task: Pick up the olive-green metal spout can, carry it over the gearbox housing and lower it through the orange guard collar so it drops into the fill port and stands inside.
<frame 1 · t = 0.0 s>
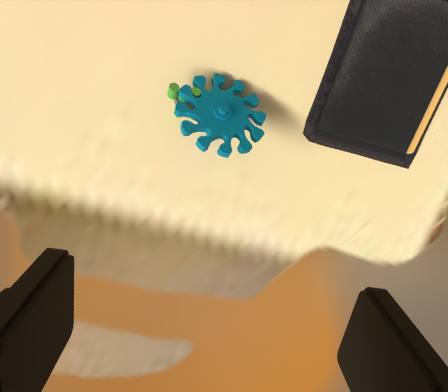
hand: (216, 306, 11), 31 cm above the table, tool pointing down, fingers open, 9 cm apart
dark grey flat slab: (386, 73, 39), on the table
gear: (216, 107, 39), on the table
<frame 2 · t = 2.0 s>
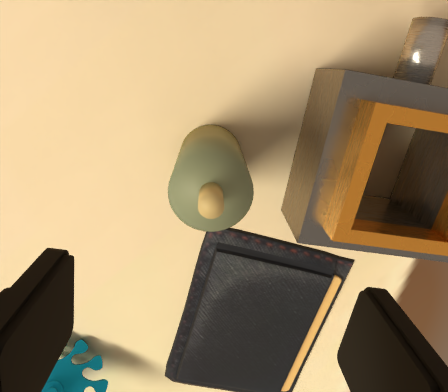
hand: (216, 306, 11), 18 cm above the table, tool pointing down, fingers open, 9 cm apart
gearbox housing: (365, 155, 28), on the table
dark grey flat slab: (251, 317, 35), on the table
gear: (63, 356, 36), on the table
spout can: (210, 155, 28), on the table
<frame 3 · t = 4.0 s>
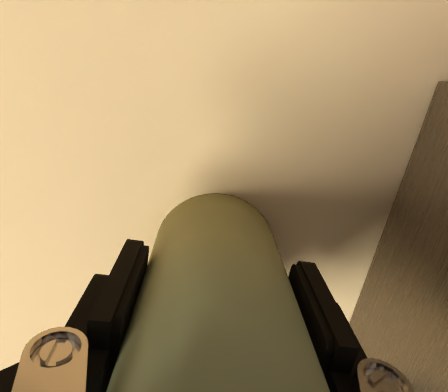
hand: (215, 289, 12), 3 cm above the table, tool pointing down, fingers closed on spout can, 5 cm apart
spout can: (214, 248, 14), on the table, touching gripper
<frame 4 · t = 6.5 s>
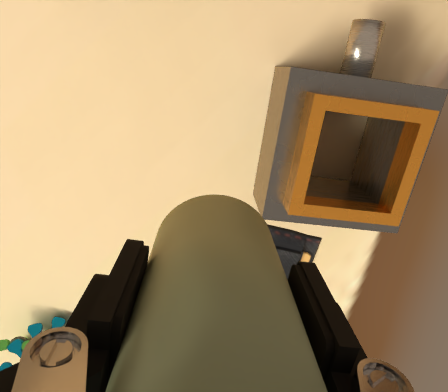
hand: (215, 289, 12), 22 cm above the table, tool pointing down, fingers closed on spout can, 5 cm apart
gearbox housing: (325, 142, 32), on the table
dark grey flat slab: (232, 294, 39), on the table
gear: (63, 336, 40), on the table
spout can: (214, 249, 14), point 19 cm above the table, touching gripper
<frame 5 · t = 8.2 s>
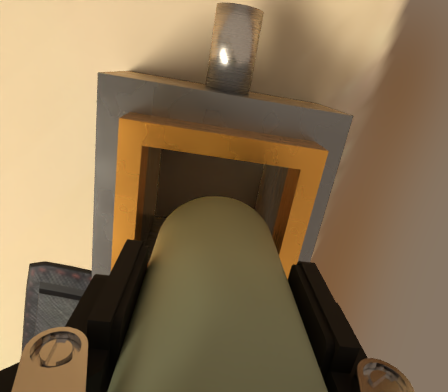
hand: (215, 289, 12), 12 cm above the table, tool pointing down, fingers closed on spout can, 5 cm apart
gearbox housing: (210, 177, 23), on the table
dark grey flat slab: (111, 364, 30), on the table
spout can: (214, 250, 14), point 10 cm above the table, touching gripper
when the fingers open (9 cm above the table, at t = 9.2 s): spout can drops 7 cm, resting in gearbox housing.
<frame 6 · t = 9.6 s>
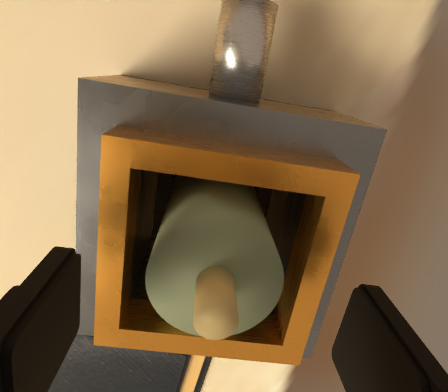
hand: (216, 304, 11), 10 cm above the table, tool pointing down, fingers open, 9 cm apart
gearbox housing: (213, 194, 20), on the table
spout can: (213, 195, 20), resting in gearbox housing
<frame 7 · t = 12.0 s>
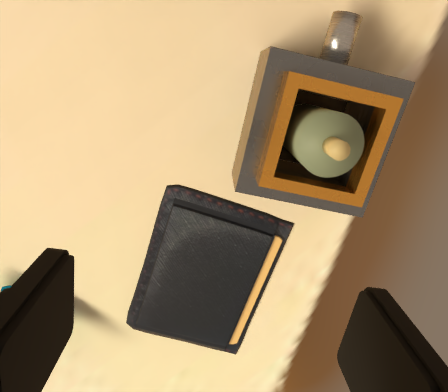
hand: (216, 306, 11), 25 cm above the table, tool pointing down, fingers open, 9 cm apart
gearbox housing: (303, 129, 34), on the table
dark grey flat slab: (205, 273, 40), on the table
spout can: (302, 129, 34), resting in gearbox housing
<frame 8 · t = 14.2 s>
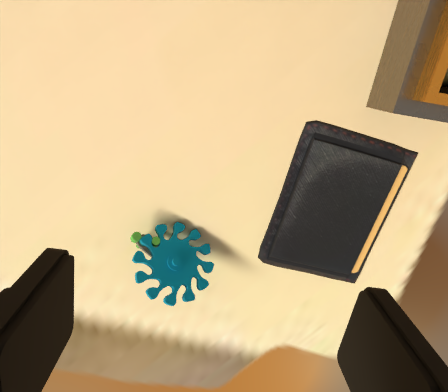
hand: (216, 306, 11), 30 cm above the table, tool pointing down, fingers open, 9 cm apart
gearbox housing: (434, 60, 37), on the table
dark grey flat slab: (330, 207, 44), on the table
gear: (174, 244, 44), on the table
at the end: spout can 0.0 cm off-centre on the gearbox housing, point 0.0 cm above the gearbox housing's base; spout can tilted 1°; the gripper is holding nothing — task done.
